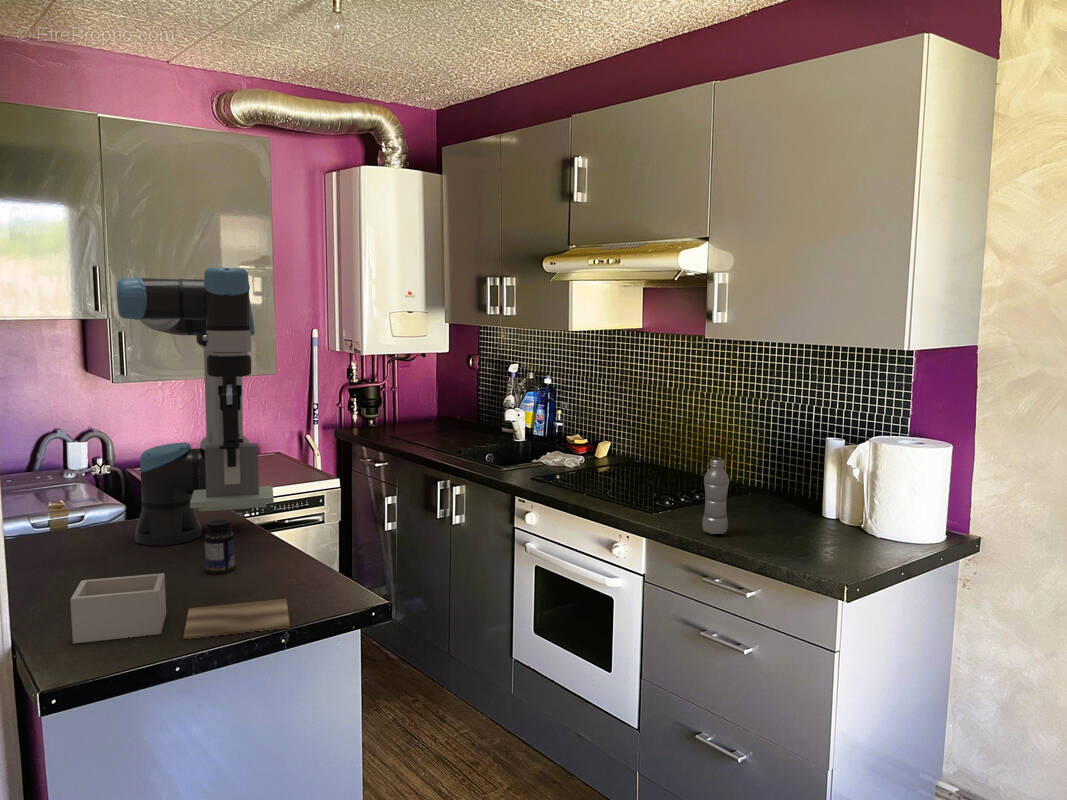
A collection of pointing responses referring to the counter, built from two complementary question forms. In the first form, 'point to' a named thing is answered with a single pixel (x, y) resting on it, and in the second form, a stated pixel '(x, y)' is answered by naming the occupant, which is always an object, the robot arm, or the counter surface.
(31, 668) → the counter surface
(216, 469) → the green base grey block
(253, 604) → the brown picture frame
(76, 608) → the storage box
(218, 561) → the pill bottle
